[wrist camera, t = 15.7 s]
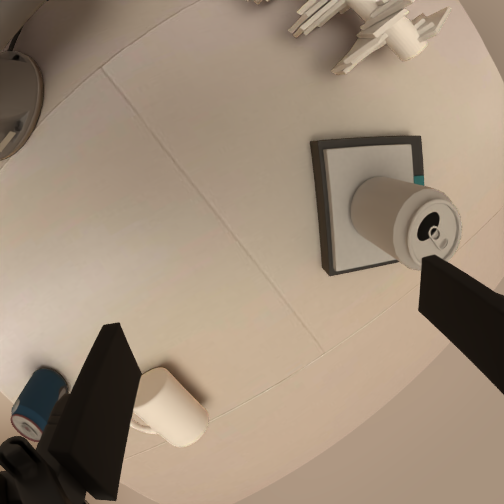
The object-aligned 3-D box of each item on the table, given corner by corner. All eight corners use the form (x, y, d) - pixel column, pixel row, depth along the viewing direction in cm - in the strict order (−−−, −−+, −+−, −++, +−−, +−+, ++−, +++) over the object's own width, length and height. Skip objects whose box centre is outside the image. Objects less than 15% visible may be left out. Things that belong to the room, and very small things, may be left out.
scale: (309, 141, 36) (320, 140, 32) (408, 135, 37) (426, 135, 33) (322, 267, 41) (332, 280, 37) (412, 249, 42) (428, 259, 38)
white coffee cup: (171, 359, 43) (164, 396, 35) (210, 400, 46) (210, 438, 39) (113, 386, 44) (101, 422, 36) (152, 424, 47) (147, 459, 40)
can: (376, 161, 33) (441, 172, 22) (413, 205, 35) (479, 231, 24) (334, 211, 34) (386, 242, 23) (375, 251, 36) (431, 293, 25)
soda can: (28, 369, 42) (-1, 414, 30) (53, 360, 42) (24, 410, 30) (52, 398, 44) (29, 445, 33) (77, 392, 44) (55, 443, 32)
